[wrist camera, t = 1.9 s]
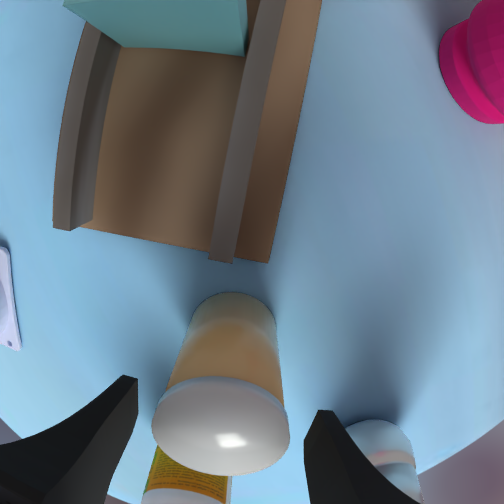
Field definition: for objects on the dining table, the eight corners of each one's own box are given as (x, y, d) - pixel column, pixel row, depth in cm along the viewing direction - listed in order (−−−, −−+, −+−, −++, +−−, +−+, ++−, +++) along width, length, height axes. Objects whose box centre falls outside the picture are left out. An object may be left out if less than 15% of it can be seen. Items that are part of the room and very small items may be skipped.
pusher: (124, 47, 13) (62, 5, 7) (129, 29, 12) (71, -18, 7) (244, 56, 13) (237, 1, 7) (248, 38, 13) (244, -24, 7)
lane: (58, 218, 16) (9, 240, 12) (120, -52, 11) (91, -88, 7) (267, 259, 17) (271, 297, 12) (327, -39, 12) (346, -83, 7)
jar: (184, 357, 18) (152, 462, 11) (194, 282, 17) (151, 376, 9) (267, 372, 19) (271, 481, 11) (287, 299, 17) (307, 403, 10)
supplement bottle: (151, 414, 20) (113, 527, 11) (225, 411, 20) (211, 539, 10) (175, 458, 22) (152, 558, 12) (241, 456, 21) (235, 565, 12)
